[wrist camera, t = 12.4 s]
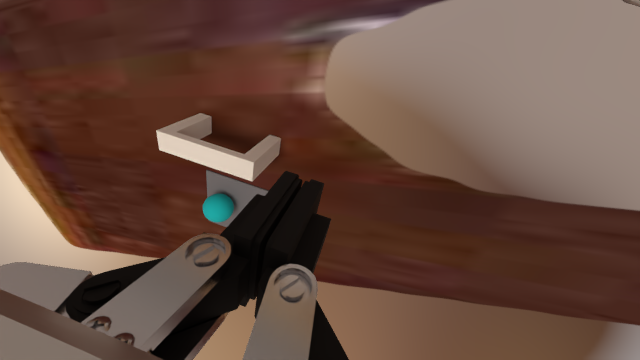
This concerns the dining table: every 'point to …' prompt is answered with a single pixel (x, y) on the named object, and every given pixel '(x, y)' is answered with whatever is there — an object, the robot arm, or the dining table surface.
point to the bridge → (215, 148)
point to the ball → (218, 207)
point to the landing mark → (232, 192)
